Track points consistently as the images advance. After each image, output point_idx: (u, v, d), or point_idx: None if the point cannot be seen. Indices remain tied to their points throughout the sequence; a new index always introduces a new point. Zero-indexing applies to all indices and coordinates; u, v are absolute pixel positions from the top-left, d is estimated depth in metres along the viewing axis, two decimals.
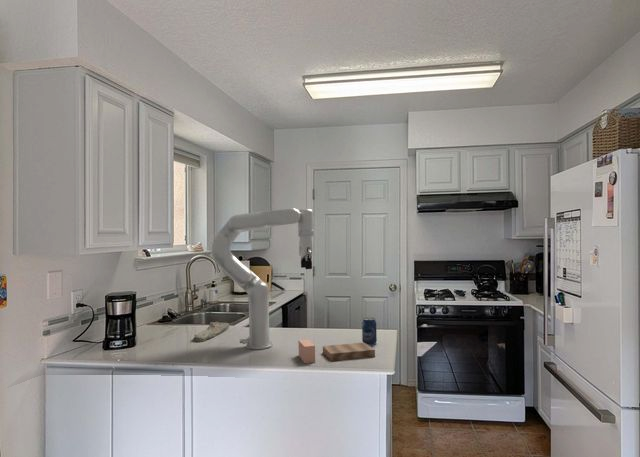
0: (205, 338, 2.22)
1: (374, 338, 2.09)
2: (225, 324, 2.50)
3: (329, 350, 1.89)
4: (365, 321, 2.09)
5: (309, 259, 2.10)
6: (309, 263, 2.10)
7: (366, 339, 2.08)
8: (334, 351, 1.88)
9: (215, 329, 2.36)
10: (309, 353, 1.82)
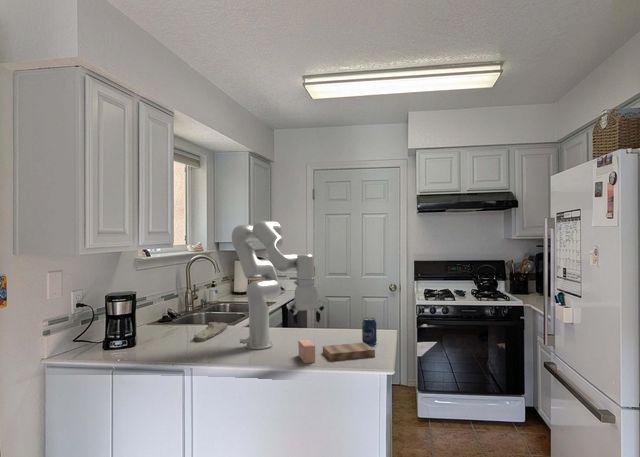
0: (205, 338, 2.22)
1: (374, 338, 2.09)
2: (223, 324, 2.50)
3: (329, 350, 1.89)
4: (365, 321, 2.09)
5: None
6: None
7: (366, 339, 2.08)
8: (334, 351, 1.88)
9: (214, 329, 2.36)
10: (309, 353, 1.82)
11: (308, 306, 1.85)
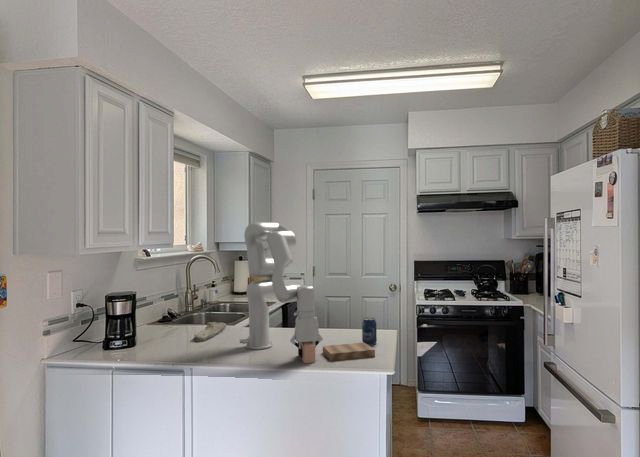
0: (205, 338, 2.22)
1: (374, 338, 2.09)
2: (222, 324, 2.50)
3: (329, 350, 1.89)
4: (365, 321, 2.09)
5: None
6: None
7: (366, 339, 2.08)
8: (334, 351, 1.88)
9: (214, 329, 2.36)
10: (309, 353, 1.82)
11: (308, 338, 1.85)
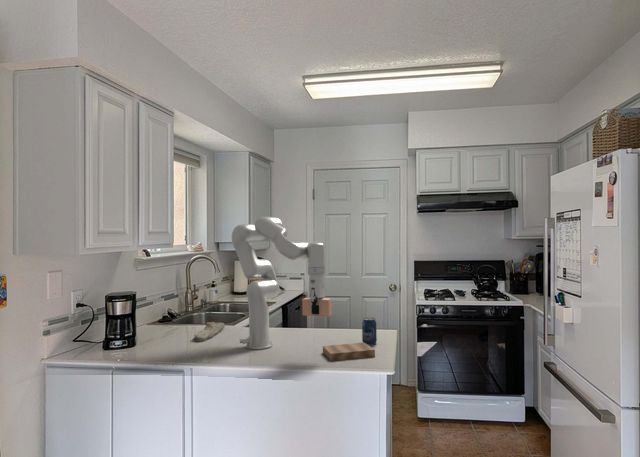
0: (206, 338, 2.22)
1: (374, 338, 2.09)
2: (221, 324, 2.50)
3: (329, 350, 1.89)
4: (365, 321, 2.09)
5: None
6: None
7: (366, 339, 2.08)
8: (334, 351, 1.88)
9: (213, 329, 2.36)
10: (330, 306, 1.87)
11: (323, 293, 1.89)
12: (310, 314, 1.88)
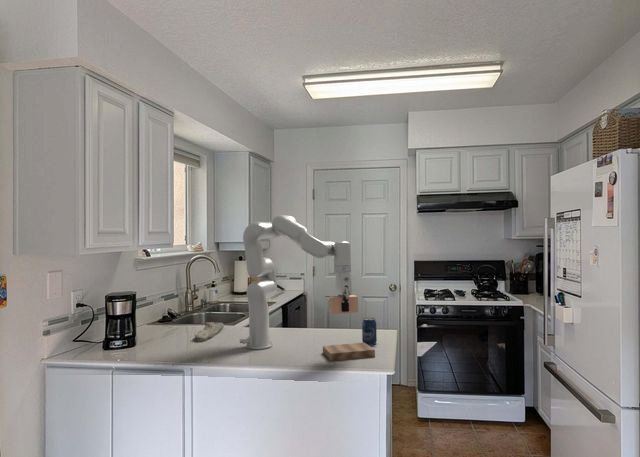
0: (206, 338, 2.22)
1: (374, 338, 2.09)
2: None
3: (329, 350, 1.89)
4: (365, 321, 2.09)
5: None
6: None
7: (366, 339, 2.08)
8: (334, 351, 1.88)
9: (213, 329, 2.37)
10: None
11: None
12: (339, 312, 1.89)
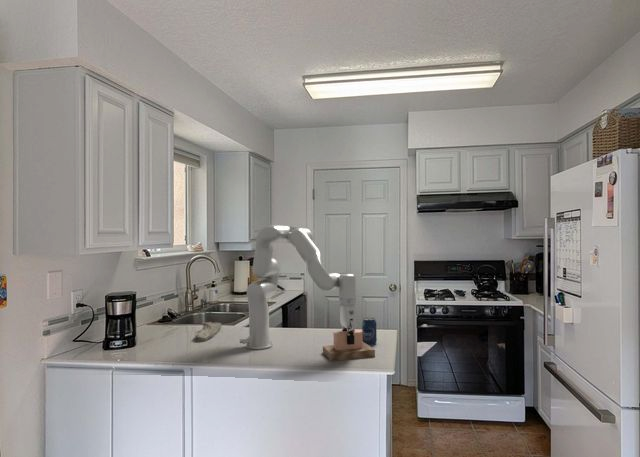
0: (207, 338, 2.22)
1: (374, 338, 2.09)
2: (218, 324, 2.50)
3: (329, 350, 1.89)
4: (365, 321, 2.09)
5: None
6: None
7: (366, 339, 2.08)
8: (334, 351, 1.88)
9: (212, 329, 2.37)
10: None
11: None
12: (344, 348, 1.90)
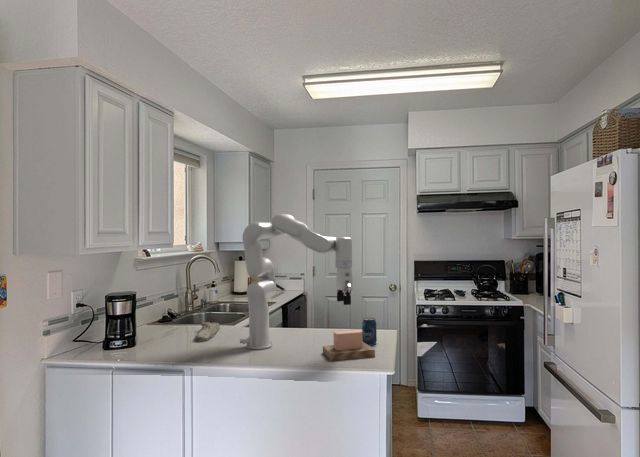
0: (208, 338, 2.23)
1: (374, 338, 2.09)
2: (216, 324, 2.50)
3: (329, 350, 1.89)
4: (365, 321, 2.09)
5: None
6: None
7: (366, 339, 2.08)
8: (334, 351, 1.88)
9: (211, 329, 2.37)
10: None
11: None
12: (344, 348, 1.90)
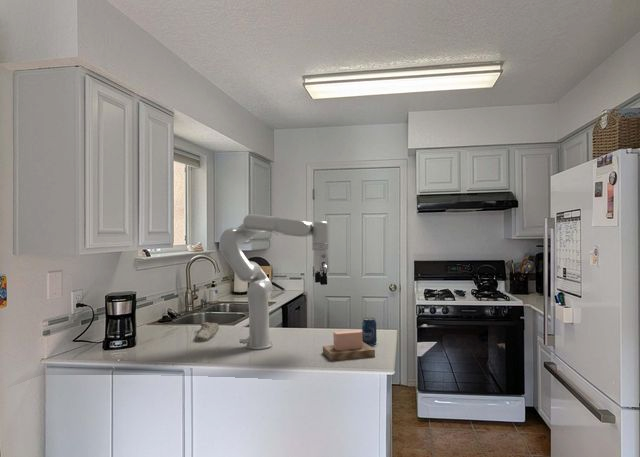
0: (209, 338, 2.23)
1: (374, 338, 2.09)
2: (215, 324, 2.50)
3: (329, 350, 1.89)
4: (365, 321, 2.09)
5: None
6: None
7: (366, 339, 2.08)
8: (334, 351, 1.88)
9: (211, 329, 2.37)
10: None
11: None
12: (344, 348, 1.90)
